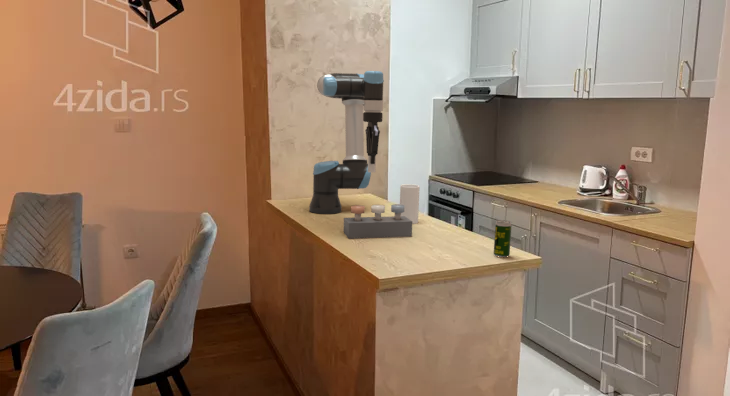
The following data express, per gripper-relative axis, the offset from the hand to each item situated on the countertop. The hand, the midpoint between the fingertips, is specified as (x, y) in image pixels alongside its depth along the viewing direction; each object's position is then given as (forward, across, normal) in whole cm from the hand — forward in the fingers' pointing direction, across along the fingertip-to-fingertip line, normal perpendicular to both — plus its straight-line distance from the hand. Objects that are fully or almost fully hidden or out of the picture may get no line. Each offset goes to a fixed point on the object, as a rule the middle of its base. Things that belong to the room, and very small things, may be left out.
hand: (371, 172), depth 221 cm
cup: (+24, -14, +21) cm, 34 cm away
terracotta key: (+20, +7, -7) cm, 22 cm away
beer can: (+25, +44, +35) cm, 61 cm away
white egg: (+20, +7, +1) cm, 21 cm away
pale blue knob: (+20, +7, +9) cm, 23 cm away
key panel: (+24, +7, +1) cm, 25 cm away
